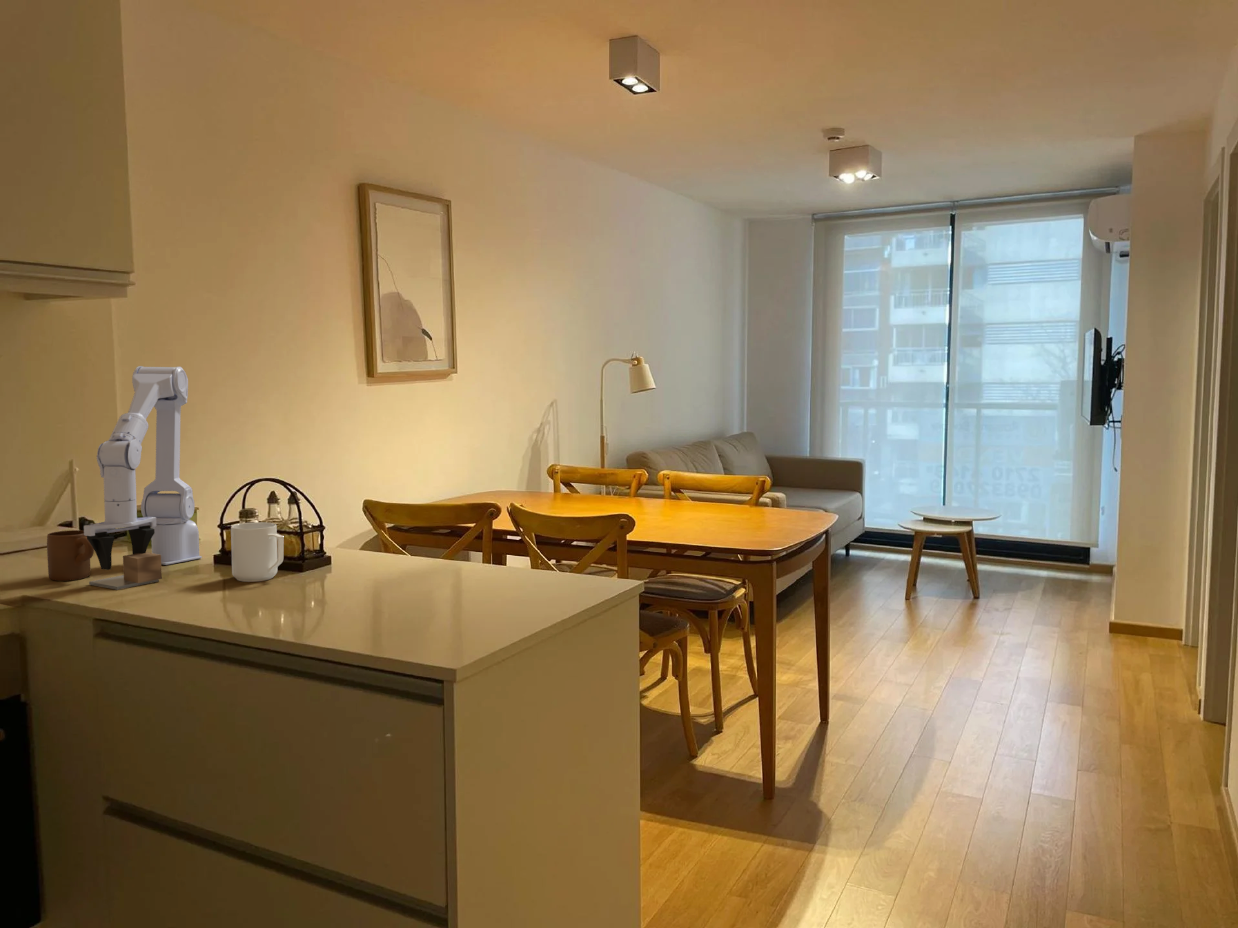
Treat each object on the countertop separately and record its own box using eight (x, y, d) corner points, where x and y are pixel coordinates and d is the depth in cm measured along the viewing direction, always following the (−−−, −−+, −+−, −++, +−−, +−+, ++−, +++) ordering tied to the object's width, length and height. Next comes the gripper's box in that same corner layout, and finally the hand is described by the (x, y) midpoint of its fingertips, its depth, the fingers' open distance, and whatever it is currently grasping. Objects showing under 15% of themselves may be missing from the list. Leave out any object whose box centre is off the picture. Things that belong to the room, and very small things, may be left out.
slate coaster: (131, 576, 194) (131, 573, 194) (158, 581, 190) (158, 578, 190) (89, 584, 186) (89, 581, 186) (117, 589, 182) (117, 586, 182)
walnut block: (147, 575, 192) (146, 552, 192) (161, 578, 190) (160, 554, 189) (123, 580, 188) (123, 555, 188) (138, 583, 186) (137, 558, 185)
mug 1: (111, 578, 192) (109, 534, 191) (74, 585, 185) (72, 539, 184) (77, 572, 198) (75, 528, 197) (40, 578, 191) (38, 533, 190)
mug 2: (222, 579, 192) (221, 527, 191) (255, 571, 200) (254, 521, 199) (266, 585, 187) (265, 531, 186) (298, 577, 195) (297, 525, 194)
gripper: (139, 494, 195) (141, 558, 196) (72, 502, 182) (75, 570, 183) (162, 497, 192) (164, 561, 193) (96, 504, 179) (98, 574, 180)
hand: (122, 566), depth 188 cm, fingers open, 7 cm apart
